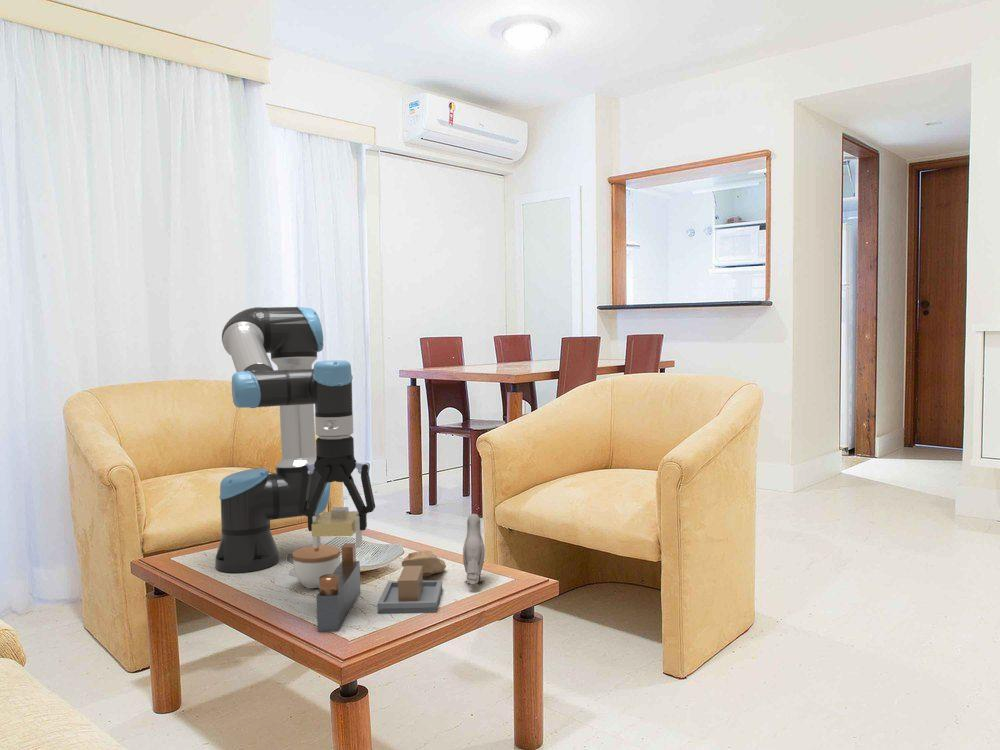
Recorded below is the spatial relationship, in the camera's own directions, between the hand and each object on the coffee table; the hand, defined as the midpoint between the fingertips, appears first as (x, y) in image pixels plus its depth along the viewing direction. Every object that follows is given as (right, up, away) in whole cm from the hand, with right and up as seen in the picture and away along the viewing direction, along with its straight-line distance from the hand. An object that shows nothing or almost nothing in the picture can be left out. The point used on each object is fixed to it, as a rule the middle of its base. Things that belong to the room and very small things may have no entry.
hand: (338, 545), depth 154 cm
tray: (+14, -13, +5) cm, 20 cm away
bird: (+28, -12, +16) cm, 34 cm away
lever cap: (0, +3, 0) cm, 3 cm away
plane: (0, -13, 0) cm, 13 cm away
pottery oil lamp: (+16, -12, +21) cm, 29 cm away
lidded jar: (-8, -13, +18) cm, 23 cm away
